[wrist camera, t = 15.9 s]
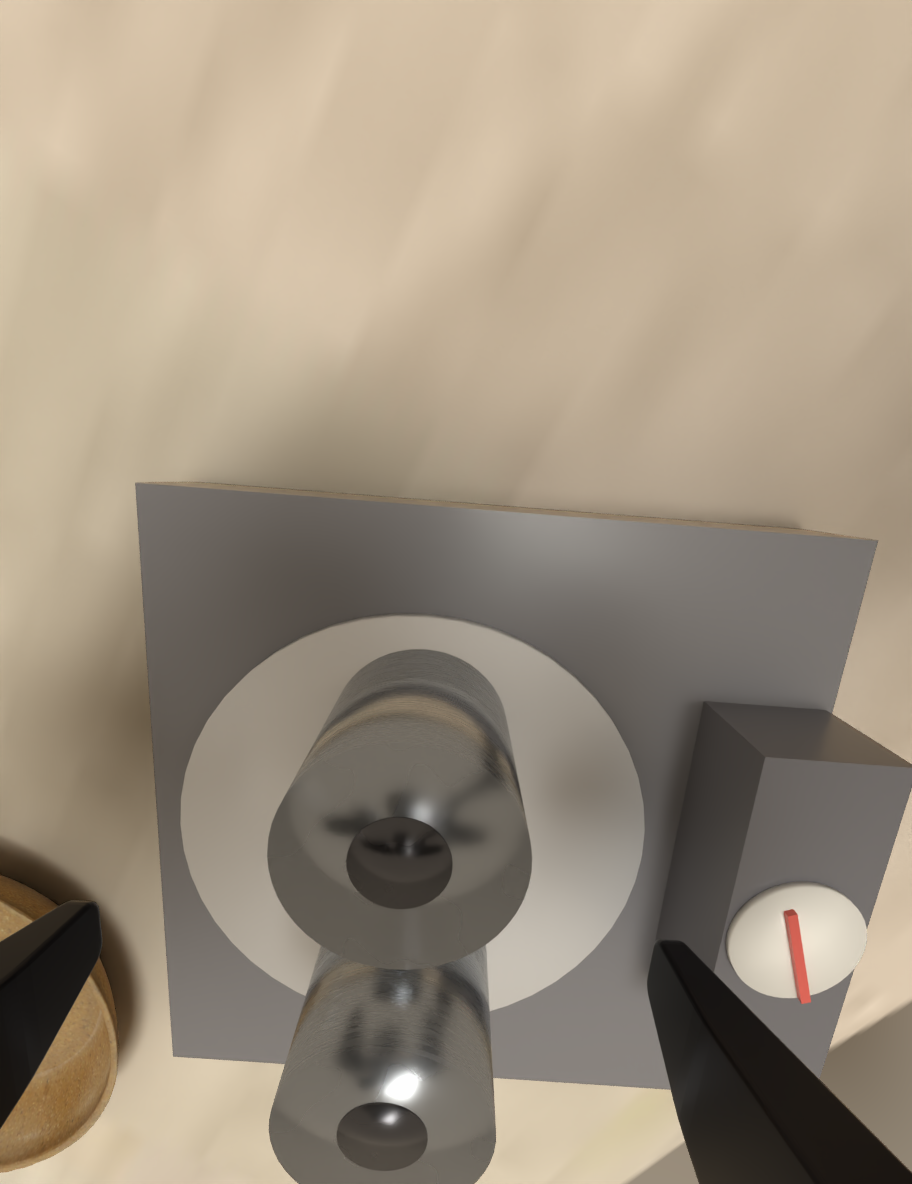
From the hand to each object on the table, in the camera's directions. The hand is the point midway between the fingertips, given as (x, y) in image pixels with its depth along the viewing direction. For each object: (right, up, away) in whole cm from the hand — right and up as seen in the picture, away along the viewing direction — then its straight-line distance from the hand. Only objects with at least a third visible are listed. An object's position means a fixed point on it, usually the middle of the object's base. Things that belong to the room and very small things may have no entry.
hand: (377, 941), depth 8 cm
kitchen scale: (+2, -1, +10) cm, 11 cm away
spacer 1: (0, +2, +6) cm, 7 cm away
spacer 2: (0, -5, +8) cm, 9 cm away
